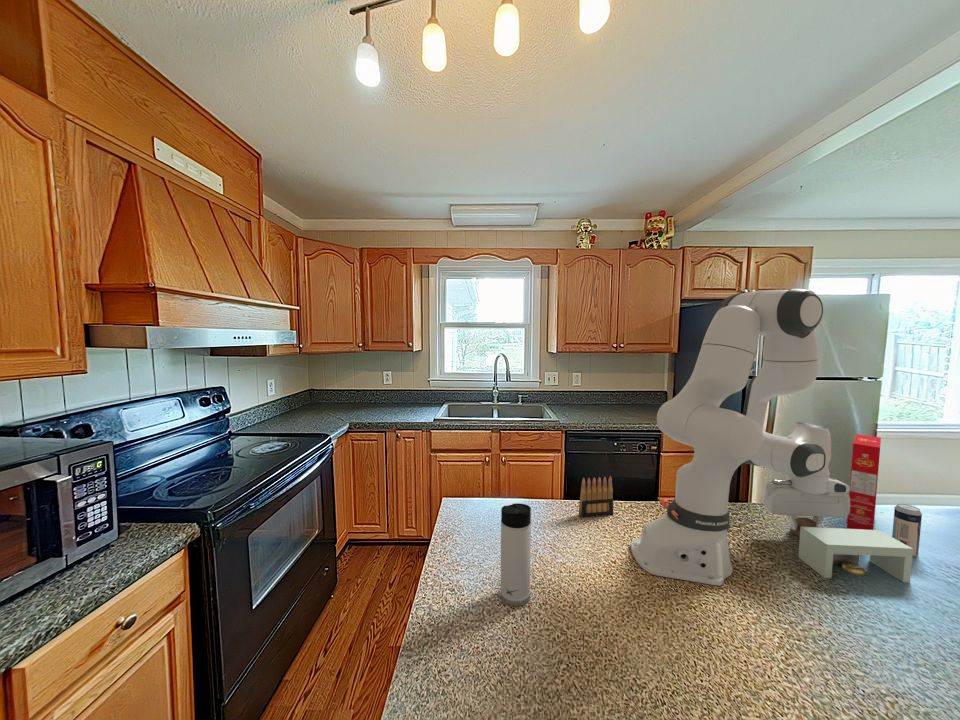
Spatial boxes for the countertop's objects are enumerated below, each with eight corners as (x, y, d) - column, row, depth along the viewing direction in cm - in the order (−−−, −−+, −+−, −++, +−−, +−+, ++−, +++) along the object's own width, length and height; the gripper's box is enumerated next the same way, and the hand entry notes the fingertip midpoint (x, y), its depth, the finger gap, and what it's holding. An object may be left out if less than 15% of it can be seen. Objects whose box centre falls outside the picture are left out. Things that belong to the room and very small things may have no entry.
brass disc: (850, 575, 88) (851, 570, 88) (836, 565, 92) (836, 560, 92) (869, 576, 88) (870, 571, 88) (854, 566, 92) (854, 561, 91)
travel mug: (511, 612, 76) (512, 516, 75) (495, 592, 82) (495, 502, 80) (536, 601, 79) (538, 509, 77) (519, 583, 85) (520, 496, 83)
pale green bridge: (824, 577, 87) (826, 544, 86) (798, 557, 95) (800, 526, 94) (910, 582, 85) (913, 548, 85) (876, 561, 93) (878, 530, 93)
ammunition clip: (581, 517, 115) (582, 479, 114) (578, 514, 117) (579, 476, 116) (613, 514, 117) (614, 477, 116) (610, 511, 119) (611, 474, 118)
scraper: (831, 564, 92) (833, 544, 92) (784, 530, 108) (785, 513, 108) (858, 565, 92) (859, 545, 91) (806, 531, 107) (808, 514, 107)
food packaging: (850, 511, 119) (856, 434, 118) (874, 517, 116) (881, 437, 114) (846, 527, 109) (853, 443, 108) (872, 535, 106) (880, 447, 104)
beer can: (924, 558, 94) (928, 512, 94) (901, 556, 95) (905, 510, 95) (907, 548, 99) (910, 503, 98) (885, 545, 100) (889, 502, 99)
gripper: (775, 484, 101) (771, 533, 102) (857, 487, 100) (852, 537, 101) (759, 475, 108) (756, 522, 109) (836, 478, 106) (832, 525, 107)
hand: (803, 529), depth 105 cm, fingers closed on scraper, 3 cm apart
